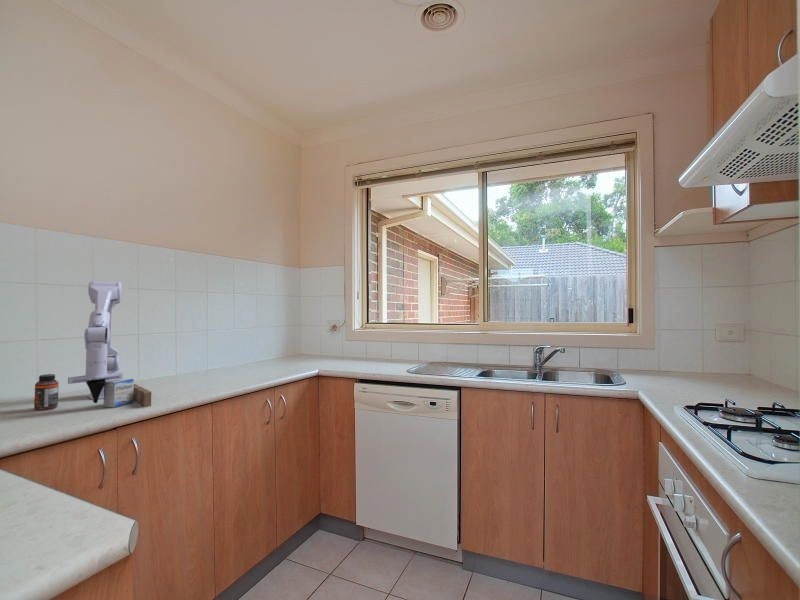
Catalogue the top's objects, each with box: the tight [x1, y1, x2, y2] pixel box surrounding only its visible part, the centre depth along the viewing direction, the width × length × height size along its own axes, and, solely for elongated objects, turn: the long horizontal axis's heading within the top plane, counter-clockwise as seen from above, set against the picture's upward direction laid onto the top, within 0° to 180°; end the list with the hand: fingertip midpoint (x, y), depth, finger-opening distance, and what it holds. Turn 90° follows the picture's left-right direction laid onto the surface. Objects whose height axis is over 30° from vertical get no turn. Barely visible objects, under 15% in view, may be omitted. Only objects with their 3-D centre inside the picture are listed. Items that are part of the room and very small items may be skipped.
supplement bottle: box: [33, 373, 60, 411], centre depth 132 cm, size 6×6×11 cm
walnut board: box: [133, 383, 152, 408], centre depth 142 cm, size 20×2×5 cm, turn 48°
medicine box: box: [103, 377, 135, 409], centre depth 138 cm, size 8×4×9 cm, turn 170°
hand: (95, 402), depth 133 cm, fingers closed
